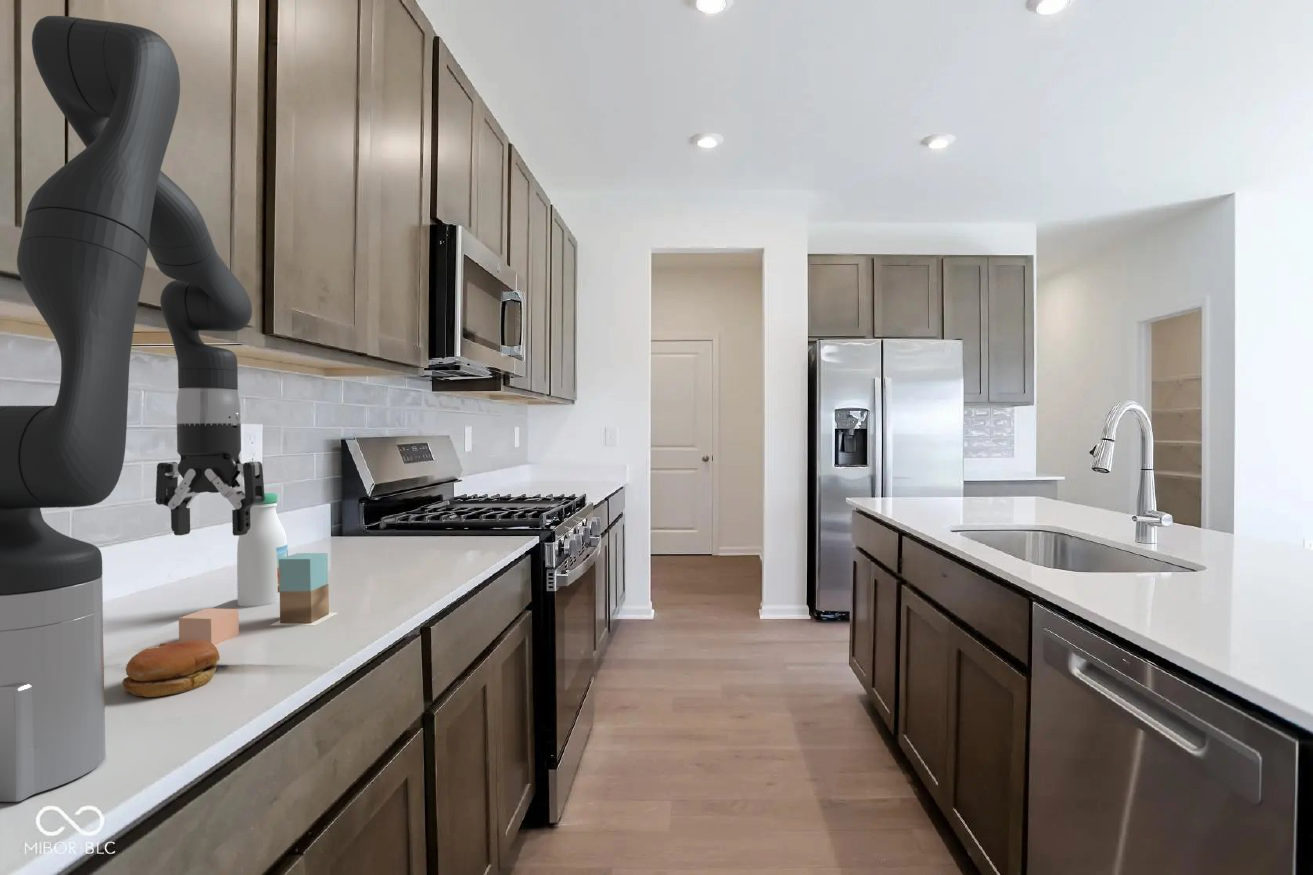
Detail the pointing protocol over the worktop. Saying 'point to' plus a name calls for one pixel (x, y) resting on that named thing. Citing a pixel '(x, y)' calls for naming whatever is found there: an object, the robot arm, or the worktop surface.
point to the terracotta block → (209, 625)
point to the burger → (171, 668)
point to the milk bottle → (261, 556)
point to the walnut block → (304, 605)
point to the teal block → (303, 571)
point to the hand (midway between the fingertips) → (211, 534)
